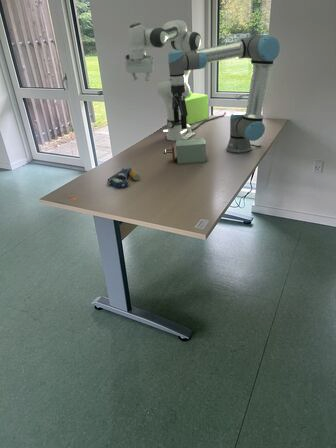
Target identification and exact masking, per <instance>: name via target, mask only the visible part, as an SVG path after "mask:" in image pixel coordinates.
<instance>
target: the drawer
mask: <svg viewBox="0 0 336 448" xmlns="http://www.w3.org/2000/svg"><path fill="white" fill-rule="evenodd" d="M175 149H176V150H175ZM175 151H176V153H177V148H176V147H175V142H171V149H169V148H168V149H166V148H164V149H163V154H164V155H166V154H172V155H171V156H172V163H176V156H175V154H176V153H175Z"/></svg>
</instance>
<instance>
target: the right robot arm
mask: <svg viewBox="0 0 336 448" xmlns="http://www.w3.org/2000/svg"><path fill="white" fill-rule="evenodd" d="M280 50H281V44H280V42H279V40H278V38H277V37H276V36H274V35H270V34H255V35H251V36H247V37H244V38H240V39H237V40H236V41H235V42H230V43H224V44H219V45H214V46H209V47H205V48H199V49H198V50H194V51H188V52H186V51H184V52H183V51H182V50H170V51H169V52H168V53H167V54H168V55H167V57H168V59H167V60H168V61H167V62H168V70H169V78H168V81H170V84H171V93H173V100H172V109H173V112H174V123H179V111H177V110H179V109H180V112H181V116H180V117H181V127H182V129H187V122H186V116H187V115H188V114H187V109H186V104H185V96H182V93H184V92H185V84H184V83H185V75H184V71H187V70H191V71H194V70H202V69H205V68H206V67H207V64H210V63H216V62H220V61H221V62H222V61H225V60H229V59H230V60H231V59H236V58H237V59H238V60H240V59H250V64H251V66H252V71H251V78H250V83H249V84H250V85H249V92H248V98H247V104H246V110H245V111H242V112H234V113H232V114H231V115H230V119H229V121H230V122H229V131H230V132H229V140H228V143H227V146H226V151H227V152H229V153H232V154H244V153H248V152H250V151H251V150H252V147H256V148H260V147H262V145H261V144H260V145H257V144H251V142H255V141H258V140H260V138H262V137H263V135H264V134H265V130H266V126H265V124H264V123H263V121H264V115H263V114H262V111H263V105H264V100H265V95H266V88H267V83H268V77H269V71H270V68H271V67H272V66H273V65H274V61H275V59H277V57H278V56H279V54H280ZM178 106H179V109H178Z"/></svg>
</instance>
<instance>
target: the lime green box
mask: <svg viewBox="0 0 336 448" xmlns="http://www.w3.org/2000/svg"><path fill="white" fill-rule="evenodd" d="M185 104H186V109H187V114H188V115H187V116H186V118H187V120H186V122H187V124H188V125H189V126H191V125H192V124H196V123H199V122H203V121H206V120H208V119H210V118H209V94H203V93H202V94H201V93H195V92H193V91H191V90H190V94H189V96H188V97H187V98H185Z"/></svg>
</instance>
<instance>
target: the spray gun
mask: <svg viewBox="0 0 336 448" xmlns="http://www.w3.org/2000/svg"><path fill="white" fill-rule="evenodd" d="M129 177H130V178H131V179H132V180H134V181H139V180H140V178H141V175H140V173H139V172H137V171H136V170H132V167H127V168H126V167H122V168H121V169H120V170H118V171H116V173H114V174H113V175H112V176H110V177H109V178H107V181H106V184H107V185H109V186H114V187H115V188H117V189H118V188H119V189H120V188H124V187H126V186H128V185H129V180H128V178H129Z"/></svg>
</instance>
